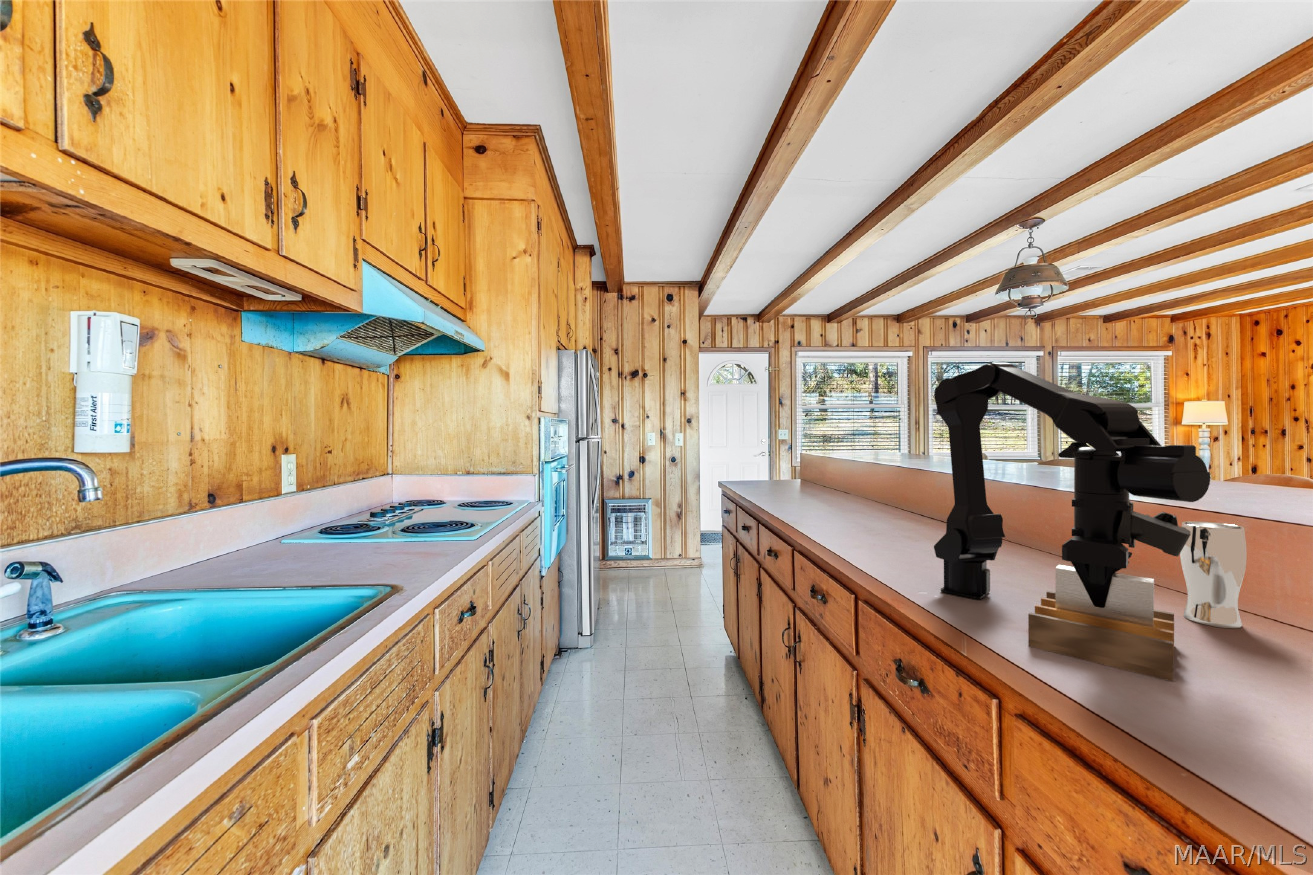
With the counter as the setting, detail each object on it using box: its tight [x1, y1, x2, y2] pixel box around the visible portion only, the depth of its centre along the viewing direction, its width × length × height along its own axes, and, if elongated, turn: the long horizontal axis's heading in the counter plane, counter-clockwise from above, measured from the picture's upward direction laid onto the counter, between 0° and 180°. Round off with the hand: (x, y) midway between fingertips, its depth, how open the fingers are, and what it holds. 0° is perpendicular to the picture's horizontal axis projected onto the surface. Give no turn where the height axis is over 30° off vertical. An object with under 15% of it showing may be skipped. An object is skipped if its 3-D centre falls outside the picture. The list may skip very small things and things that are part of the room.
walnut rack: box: [1027, 590, 1175, 682], centre depth 70 cm, size 14×14×4 cm
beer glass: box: [1179, 520, 1248, 629], centre depth 78 cm, size 7×7×15 cm
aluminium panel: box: [1055, 564, 1155, 627], centre depth 70 cm, size 10×2×7 cm, turn 44°
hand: (1100, 604), depth 70 cm, fingers closed on aluminium panel, 2 cm apart
